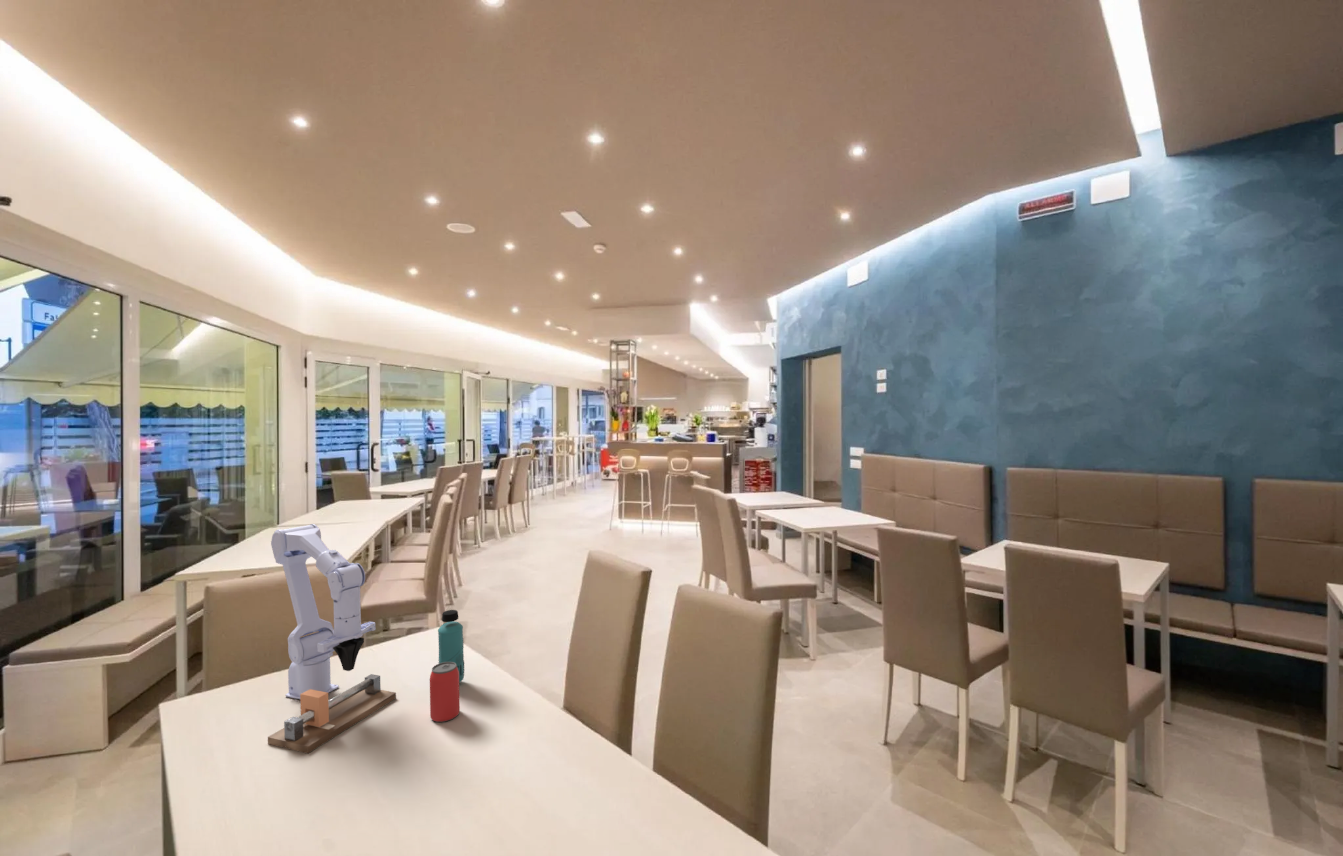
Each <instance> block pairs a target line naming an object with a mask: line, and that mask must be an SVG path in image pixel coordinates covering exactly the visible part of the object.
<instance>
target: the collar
mask: <svg viewBox="0 0 1343 856" xmlns="http://www.w3.org/2000/svg"><path fill="white" fill-rule="evenodd" d="M299 700H300V716H301V715H302V714H304V713H306V712H308V711H310V710H314V719H312V720H310V721H308V722H306V723H305V724H308V725H312V726H317V727H320V726H322V725H324V724H325V723H327V722H329V703H328V700H329V693H327V692H322V691H317V690H312V689H309V690H307V691H305V692H304V693H302V694H300V699H299Z"/></svg>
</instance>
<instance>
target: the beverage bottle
mask: <svg viewBox="0 0 1343 856" xmlns="http://www.w3.org/2000/svg"><path fill="white" fill-rule="evenodd" d="M458 620H459V611H458V610H456V609H449V610H445V611H443V612H442V615H441V621H442V622H443V624H441V626H440V627H439V628H438V629H437V632H438V633H437V634H438V635H437V639H438V662H437V664H439V663H443V662H454V663H456V664H457V668H458V671H459V683H460V682H462V681H463V680H464V677H465V676H466V675H465V669H466V668H465V659H464V658H465V656H464V644H465V643H464V642H465V641H464V634H463V633H464V631H463V630H464V625H463V624H461V622H459V621H458Z"/></svg>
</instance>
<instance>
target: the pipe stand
mask: <svg viewBox="0 0 1343 856" xmlns="http://www.w3.org/2000/svg"><path fill="white" fill-rule="evenodd" d="M363 690H365V693H368V694H373V695H375V694H376V693H378V692H380V691H381V690H382V688H381V675H378V674H373V673H370V674H369V675H366V676H365V677H364V680H363V681H361V682H359V683H357V684H355V685H354V686H352V687H350V688H348V689H346V690H345V691H343V692H341V693H339V694H337V695H336V696H334V697H331V698H330V699H328V703H329V709H331V708H333V707H335V706H336V705H338V704H340V703H342V702H343V701H345V700H347V699H349V698H351V697H352V696H354V695H356V694H358V693H359V692H361V691H363ZM312 719H314V710H310V711H308V712H306V713H304V714H302V715H301V714H300V715H299V716H297V717H296V716H292V717H290V718H288V719H286V720H284V723H283V724H284V725H283V728H284V733H285V739H286V740H290V741H294V742H295V741H297V740H298V739H300V738H302V737H303V724H305V723H306V722H308V721H310V720H312Z"/></svg>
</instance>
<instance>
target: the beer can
mask: <svg viewBox="0 0 1343 856" xmlns="http://www.w3.org/2000/svg"><path fill="white" fill-rule="evenodd" d="M429 676H430V677H429V701H430V702H429V707H430V708H429V709H430V710H429V711H430V715H429V716H430V718H431V720H432V721H433V722H436V723H444V722H445V723H446V722H448V721H452V720H453V719H455V718H457V716H458V715H459V714H460V709H461V706H460V703H461V701H460V682H459V671H458V668H457V664H456V663H454V662H443V663H437V664H435V665H434V666H433V667H432V668H431V673H430V675H429Z"/></svg>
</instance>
